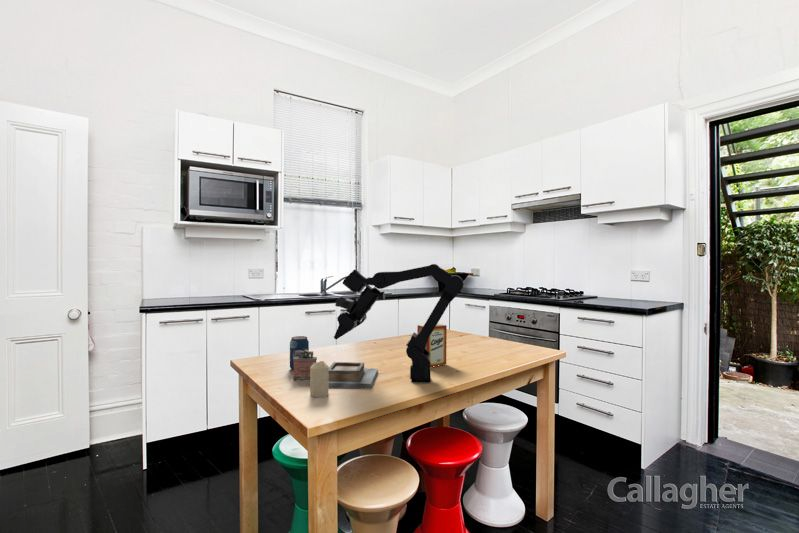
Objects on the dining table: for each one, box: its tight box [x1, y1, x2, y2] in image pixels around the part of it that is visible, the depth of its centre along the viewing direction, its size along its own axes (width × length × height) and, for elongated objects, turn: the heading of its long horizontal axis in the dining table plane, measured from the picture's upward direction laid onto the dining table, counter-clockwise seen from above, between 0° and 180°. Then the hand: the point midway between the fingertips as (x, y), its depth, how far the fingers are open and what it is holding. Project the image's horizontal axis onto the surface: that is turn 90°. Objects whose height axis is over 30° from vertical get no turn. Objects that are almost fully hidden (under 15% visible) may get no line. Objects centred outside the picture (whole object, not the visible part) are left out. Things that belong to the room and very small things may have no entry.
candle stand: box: [329, 361, 379, 389], centre depth 137 cm, size 20×18×4 cm
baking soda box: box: [416, 323, 448, 368], centre depth 157 cm, size 10×6×16 cm
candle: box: [309, 360, 330, 398], centre depth 121 cm, size 6×6×10 cm
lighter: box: [292, 350, 318, 381], centre depth 137 cm, size 8×3×10 cm, turn 92°
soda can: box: [289, 335, 310, 372], centre depth 149 cm, size 7×7×12 cm
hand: (338, 336), depth 140 cm, fingers open, 9 cm apart
